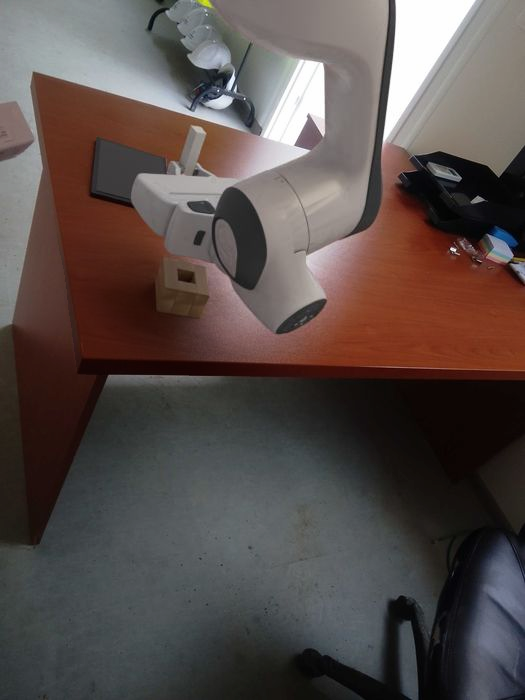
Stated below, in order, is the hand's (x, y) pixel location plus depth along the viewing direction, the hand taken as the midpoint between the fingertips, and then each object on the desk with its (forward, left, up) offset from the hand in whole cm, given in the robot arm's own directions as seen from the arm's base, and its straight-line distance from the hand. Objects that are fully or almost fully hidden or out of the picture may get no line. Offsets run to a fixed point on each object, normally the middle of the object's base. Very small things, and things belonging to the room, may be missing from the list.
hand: (182, 166), depth 64 cm
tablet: (-3, +23, -17) cm, 29 cm away
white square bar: (0, -1, -9) cm, 9 cm away
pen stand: (+4, -9, -17) cm, 19 cm away
